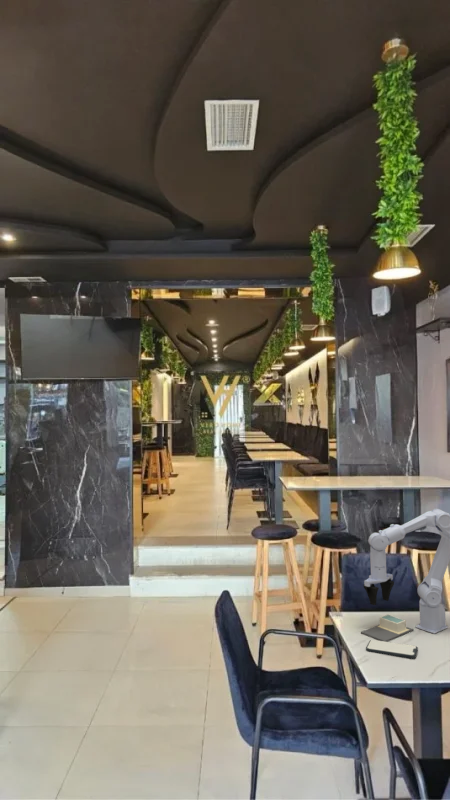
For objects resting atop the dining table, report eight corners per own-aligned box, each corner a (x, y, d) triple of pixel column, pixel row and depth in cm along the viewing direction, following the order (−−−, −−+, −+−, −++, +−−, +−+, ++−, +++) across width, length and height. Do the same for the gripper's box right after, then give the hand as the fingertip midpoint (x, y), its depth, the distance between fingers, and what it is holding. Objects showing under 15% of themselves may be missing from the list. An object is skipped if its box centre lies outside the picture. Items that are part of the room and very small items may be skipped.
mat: (389, 622, 200) (389, 620, 200) (413, 630, 192) (413, 628, 192) (360, 633, 190) (360, 631, 190) (384, 642, 182) (384, 640, 182)
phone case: (365, 653, 175) (415, 661, 168) (365, 648, 175) (415, 656, 168) (370, 643, 183) (418, 650, 176) (370, 638, 183) (418, 645, 176)
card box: (406, 629, 191) (405, 620, 192) (397, 632, 189) (397, 623, 189) (388, 623, 198) (387, 614, 198) (379, 626, 195) (379, 617, 195)
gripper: (381, 560, 204) (382, 595, 203) (357, 566, 195) (358, 603, 195) (396, 564, 198) (398, 600, 198) (372, 570, 190) (373, 608, 189)
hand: (379, 602), depth 196 cm, fingers open, 7 cm apart
